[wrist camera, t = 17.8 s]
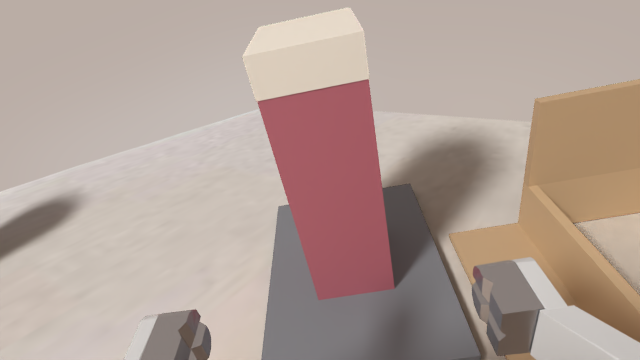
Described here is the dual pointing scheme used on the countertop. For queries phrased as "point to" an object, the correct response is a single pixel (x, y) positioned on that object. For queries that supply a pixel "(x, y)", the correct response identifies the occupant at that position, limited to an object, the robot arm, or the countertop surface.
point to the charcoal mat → (368, 300)
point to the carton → (573, 201)
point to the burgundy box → (325, 146)
